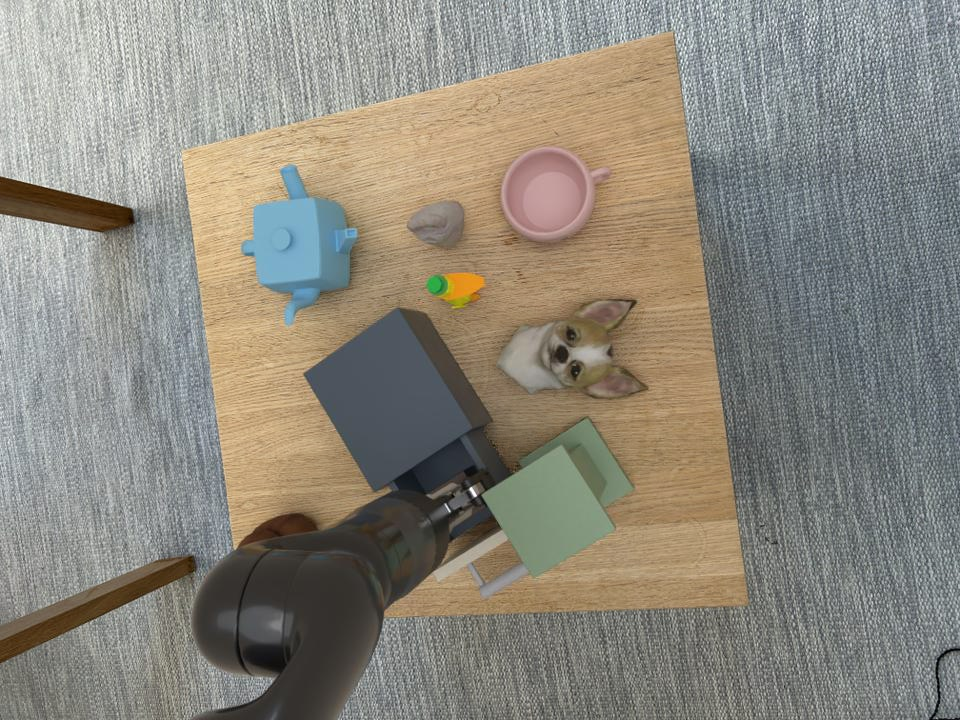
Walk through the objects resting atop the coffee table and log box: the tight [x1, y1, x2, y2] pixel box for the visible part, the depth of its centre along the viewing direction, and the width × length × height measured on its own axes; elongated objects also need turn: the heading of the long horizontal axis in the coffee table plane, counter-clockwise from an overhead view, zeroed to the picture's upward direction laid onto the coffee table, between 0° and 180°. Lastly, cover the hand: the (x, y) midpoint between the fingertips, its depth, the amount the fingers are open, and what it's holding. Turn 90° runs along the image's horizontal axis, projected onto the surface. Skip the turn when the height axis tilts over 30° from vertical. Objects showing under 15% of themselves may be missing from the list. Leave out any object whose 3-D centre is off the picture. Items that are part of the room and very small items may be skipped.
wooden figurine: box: [236, 512, 318, 549], centre depth 84 cm, size 7×6×15 cm
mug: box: [499, 144, 613, 244], centre depth 81 cm, size 12×10×6 cm
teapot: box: [240, 164, 359, 327], centre depth 86 cm, size 18×14×10 cm
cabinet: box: [302, 306, 494, 493], centre depth 83 cm, size 15×13×10 cm
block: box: [429, 465, 488, 527], centre depth 82 cm, size 4×4×4 cm
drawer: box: [387, 427, 530, 600], centre depth 82 cm, size 18×11×8 cm, turn 33°
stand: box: [481, 416, 636, 579], centre depth 73 cm, size 9×9×22 cm
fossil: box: [406, 200, 466, 249], centre depth 82 cm, size 6×4×10 cm, turn 123°
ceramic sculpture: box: [496, 298, 650, 401], centre depth 80 cm, size 11×9×15 cm
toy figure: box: [426, 272, 486, 310], centre depth 81 cm, size 7×4×12 cm, turn 98°
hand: (445, 508), depth 76 cm, fingers open, 8 cm apart
